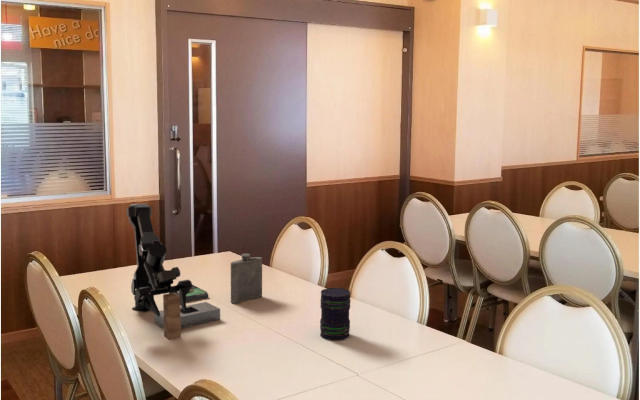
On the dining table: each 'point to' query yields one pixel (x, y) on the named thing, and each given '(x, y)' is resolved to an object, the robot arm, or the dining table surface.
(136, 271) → the robot arm
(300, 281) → the dining table surface
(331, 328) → the storage jar
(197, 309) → the rail block
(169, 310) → the walnut peg
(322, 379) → the dining table surface
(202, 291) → the disk drive
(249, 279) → the flask
